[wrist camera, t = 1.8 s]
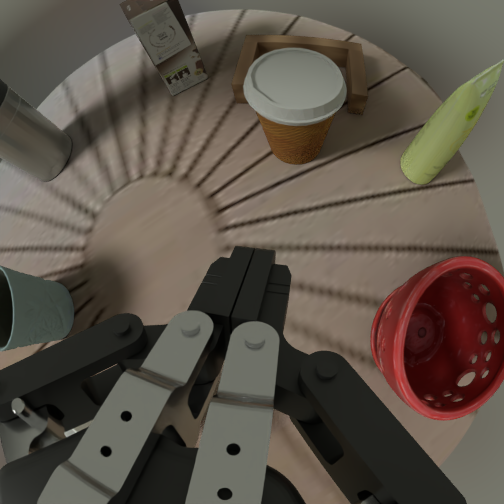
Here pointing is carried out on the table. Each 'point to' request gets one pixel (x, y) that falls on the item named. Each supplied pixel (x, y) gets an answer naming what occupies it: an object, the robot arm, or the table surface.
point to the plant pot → (442, 337)
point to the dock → (333, 49)
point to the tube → (448, 127)
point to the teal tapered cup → (32, 310)
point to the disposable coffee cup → (295, 100)
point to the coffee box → (166, 41)
